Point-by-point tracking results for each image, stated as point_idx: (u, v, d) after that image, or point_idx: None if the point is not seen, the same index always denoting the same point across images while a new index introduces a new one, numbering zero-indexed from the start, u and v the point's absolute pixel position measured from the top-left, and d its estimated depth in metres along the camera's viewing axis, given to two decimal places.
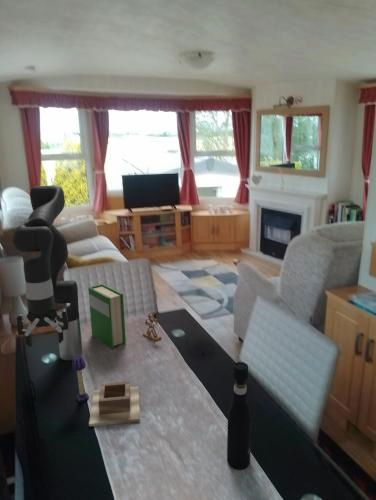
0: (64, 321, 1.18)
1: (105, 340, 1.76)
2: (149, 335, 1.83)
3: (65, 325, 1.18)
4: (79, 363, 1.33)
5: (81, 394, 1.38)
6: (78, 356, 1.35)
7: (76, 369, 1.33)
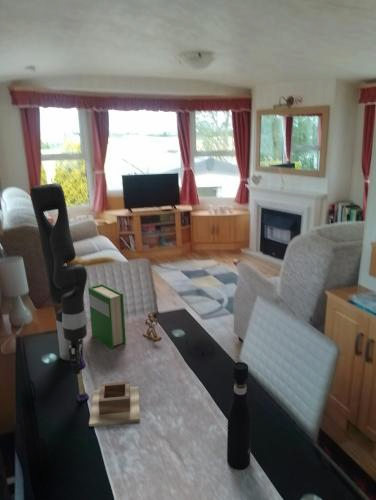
0: None
1: (105, 340, 1.76)
2: (149, 335, 1.83)
3: None
4: (79, 363, 1.33)
5: (81, 394, 1.38)
6: None
7: None
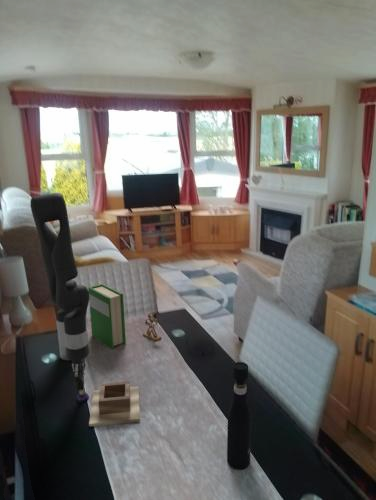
0: None
1: (105, 340, 1.76)
2: (149, 335, 1.83)
3: None
4: None
5: (81, 394, 1.38)
6: None
7: None
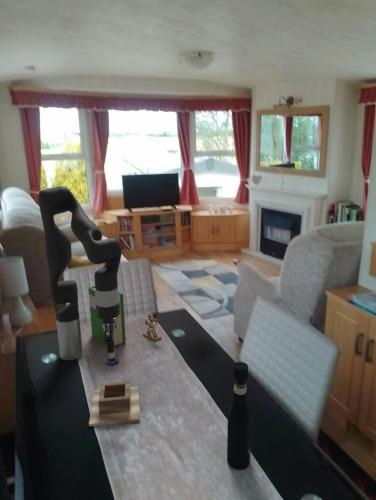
0: None
1: None
2: (149, 335, 1.83)
3: None
4: None
5: (111, 358, 1.29)
6: None
7: None
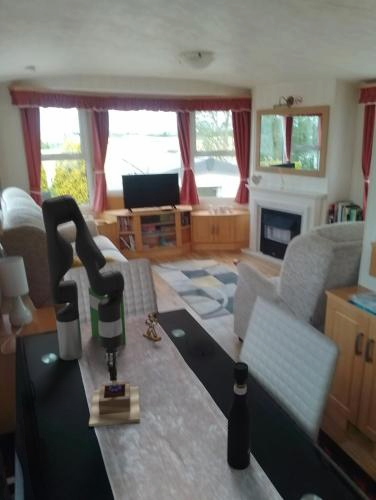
0: None
1: None
2: (149, 335, 1.83)
3: None
4: None
5: (114, 385, 1.32)
6: None
7: None
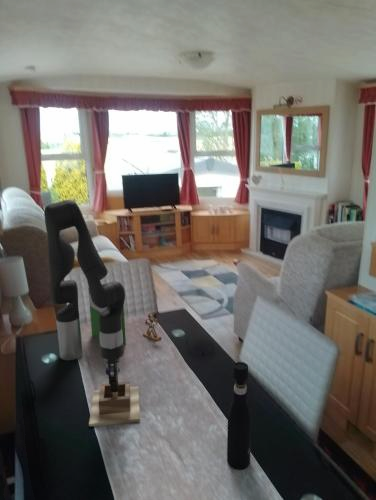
0: None
1: None
2: (149, 335, 1.83)
3: None
4: None
5: None
6: None
7: None
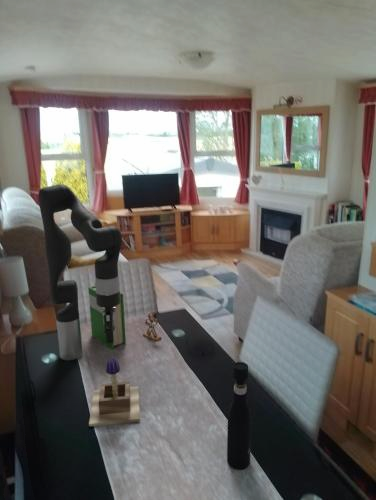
0: None
1: (105, 340, 1.76)
2: (149, 335, 1.83)
3: None
4: (114, 367, 1.29)
5: None
6: (113, 359, 1.31)
7: (111, 373, 1.29)
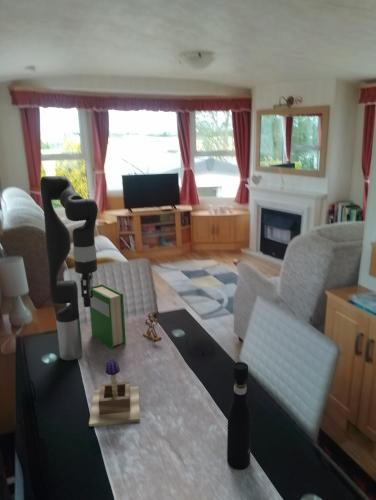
0: None
1: (105, 340, 1.76)
2: (149, 335, 1.83)
3: None
4: (113, 368, 1.29)
5: None
6: (112, 360, 1.30)
7: (110, 373, 1.29)
